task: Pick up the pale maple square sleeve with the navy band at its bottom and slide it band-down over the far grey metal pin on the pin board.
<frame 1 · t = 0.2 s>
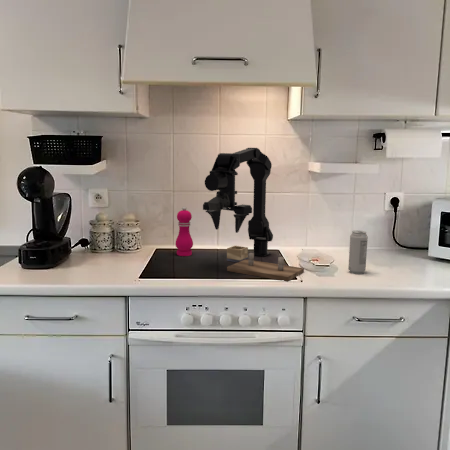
hand: (226, 231, 179), 14 cm above the worktop, tool pointing down, fingers open, 9 cm apart
pin board: (265, 271, 178), on the worktop
pepper mill: (184, 254, 202), on the worktop
energy drink can: (356, 272, 178), on the worktop
sleeve: (237, 260, 194), on the worktop
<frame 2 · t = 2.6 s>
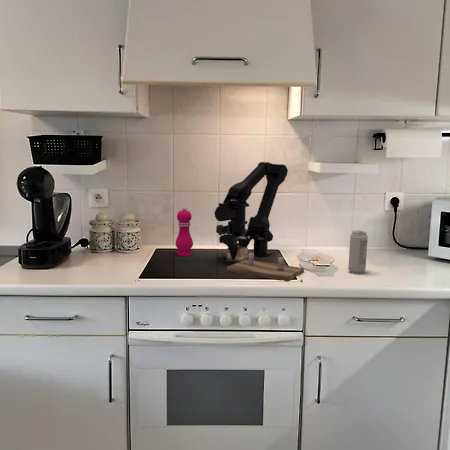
hand: (237, 257, 194), 1 cm above the worktop, tool pointing down, fingers closed on sleeve, 6 cm apart
sleeve: (237, 260, 194), on the worktop, touching gripper
everything else where it was.
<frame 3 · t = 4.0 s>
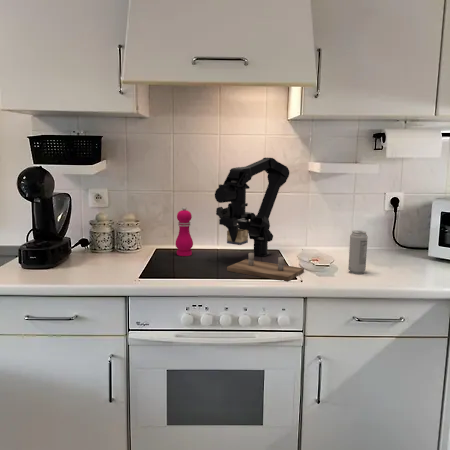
hand: (237, 240, 192), 8 cm above the worktop, tool pointing down, fingers closed on sleeve, 6 cm apart
sleeve: (237, 242, 193), point 7 cm above the worktop, touching gripper
everything else where it was.
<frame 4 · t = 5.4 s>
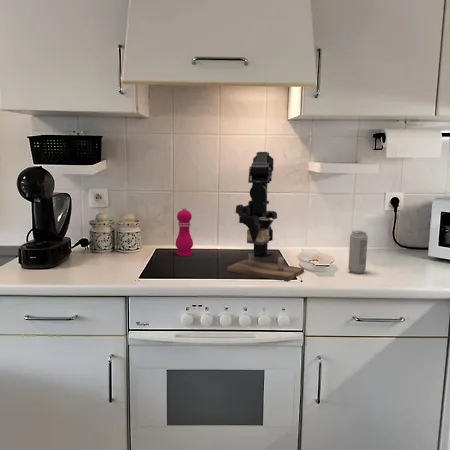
hand: (258, 240, 182), 10 cm above the worktop, tool pointing down, fingers closed on sleeve, 6 cm apart
sleeve: (257, 242, 182), point 9 cm above the worktop, touching gripper
everything else where it was.
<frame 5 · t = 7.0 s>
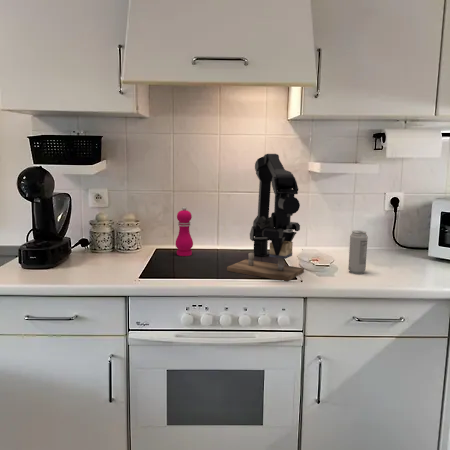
hand: (281, 253, 173), 8 cm above the worktop, tool pointing down, fingers closed on sleeve, 6 cm apart
sleeve: (280, 256, 173), point 7 cm above the worktop, touching gripper
everything else where it was.
when the fingers open (5 cm above the worktop, at t = 8.3 s): sleeve drops 3 cm, resting on pin board.
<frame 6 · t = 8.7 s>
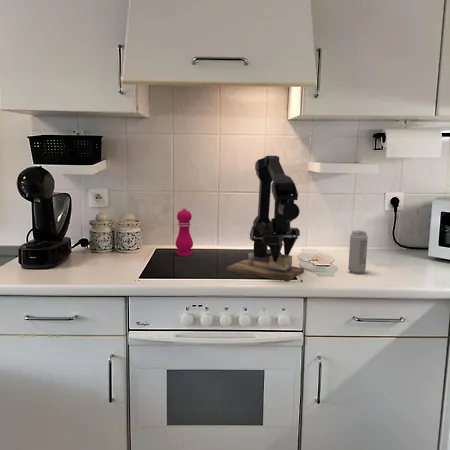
hand: (280, 259, 174), 5 cm above the worktop, tool pointing down, fingers open, 9 cm apart
sleeve: (280, 269, 174), point 1 cm above the worktop, touching pin board
everything else where it was.
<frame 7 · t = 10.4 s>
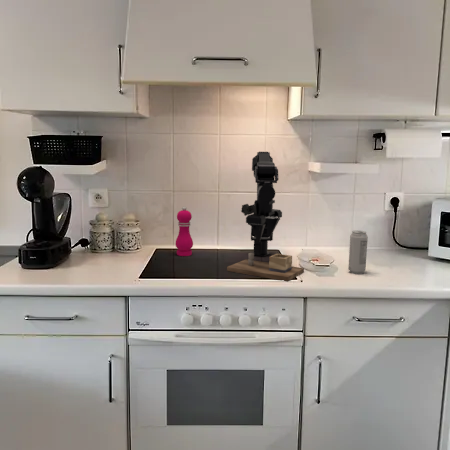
hand: (263, 239, 183), 11 cm above the worktop, tool pointing down, fingers open, 9 cm apart
nothing on the worktop moved.
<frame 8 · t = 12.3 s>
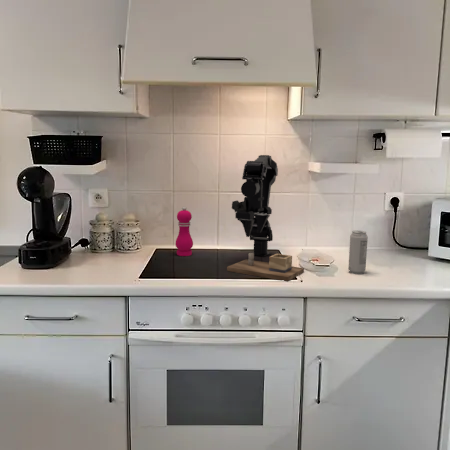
hand: (253, 234, 188), 11 cm above the worktop, tool pointing down, fingers open, 9 cm apart
nothing on the worktop moved.
at the end: sleeve 0.1 cm from the target spot on the pin board, point 1.5 cm above the pin board's base; sleeve tilted 0°; the gripper is holding nothing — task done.
